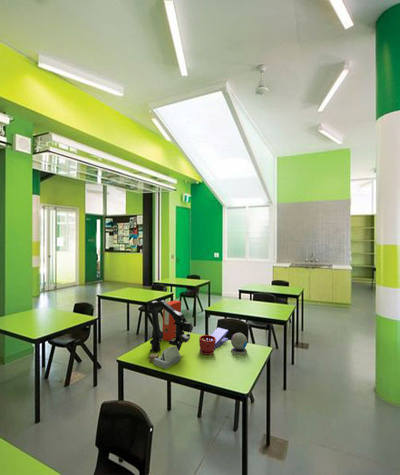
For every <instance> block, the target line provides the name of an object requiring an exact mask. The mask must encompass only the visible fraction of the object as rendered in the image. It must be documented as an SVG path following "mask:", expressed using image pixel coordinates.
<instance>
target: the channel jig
mask: <svg viewBox="0 0 400 475" xmlns="http://www.w3.org/2000/svg"><path fill="white" fill-rule="evenodd" d="M180 361H181V358H180V356H177V357H175V358H173V359H171V360H170V361H168V362H166V361H163V360H162V355H161V356H159V357H158V358H155V359H154V362H153V365H154V366H156V367H160V368H163V369H165V370H166V369H169V368H170V367H172V366H173V365H175V364H176V363H178V362H180Z"/></svg>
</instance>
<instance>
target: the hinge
mask: <svg viewBox="0 0 400 475" xmlns="http://www.w3.org/2000/svg"><path fill="white" fill-rule="evenodd" d="M160 355H161V356H162V360H163V361H166V362H168V361H170V360H171V359H173V358H175V357H177V356H180V359H182V355H181V354H180V351H178V348H177V347H176V346H170V347H167V348H165V349H164V350H162V352H161V354H160Z"/></svg>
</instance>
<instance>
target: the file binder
mask: <svg viewBox="0 0 400 475" xmlns="http://www.w3.org/2000/svg"><path fill="white" fill-rule="evenodd" d="M166 303H167V304H168V305H170V306H171V307H172V308H173V309H174V310H176V311H178V312H180V313H182V301H180V300H176V299H175V300H171V301H169V302H166ZM174 322H175V320H174V319H173V317H172V315H171V314H170V313H168V312H167V311H166V310H165V309H164V308H162V328H161V329H162V330H161V332H162V331H163V339H162V340H163V341H168V342H169V341H170V340H172V339H174V340H175V338H174V337H176V333H174V332H175V331H176V324H173V323H174Z"/></svg>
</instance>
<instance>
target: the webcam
mask: <svg viewBox="0 0 400 475" xmlns="http://www.w3.org/2000/svg"><path fill="white" fill-rule="evenodd" d="M230 342H231V345H232V348H231V349H230V352H231V353H232V354H234V355H235V356H236V355H237V356H242V355H243V354H244V355H246V354H248V350H247V348H246V346H247V345H248V339H247V336H246V335H245V334H244V333H242V332H236V333H234V334H232V336H231V338H230ZM244 355H243V356H244Z"/></svg>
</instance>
